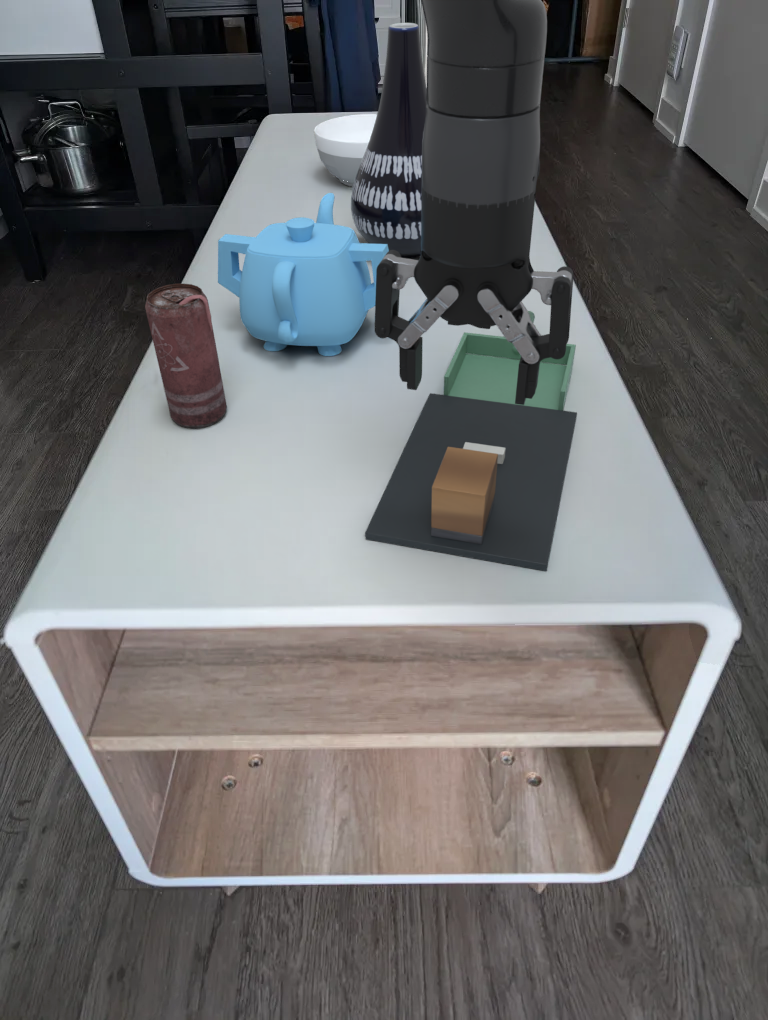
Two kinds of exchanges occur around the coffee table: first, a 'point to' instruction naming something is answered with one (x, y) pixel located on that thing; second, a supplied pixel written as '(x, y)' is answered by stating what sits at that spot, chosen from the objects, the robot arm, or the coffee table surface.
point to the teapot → (302, 281)
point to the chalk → (487, 450)
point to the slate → (519, 480)
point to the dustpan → (504, 372)
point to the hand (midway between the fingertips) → (467, 392)
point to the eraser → (463, 495)
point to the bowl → (344, 144)
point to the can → (186, 354)
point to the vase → (395, 151)
